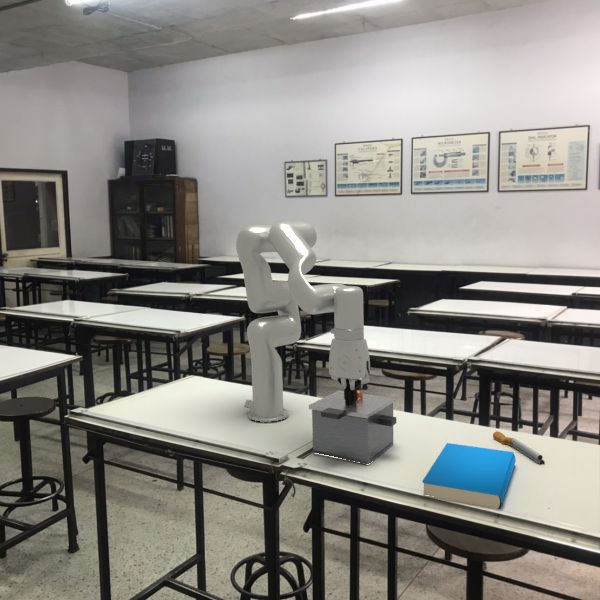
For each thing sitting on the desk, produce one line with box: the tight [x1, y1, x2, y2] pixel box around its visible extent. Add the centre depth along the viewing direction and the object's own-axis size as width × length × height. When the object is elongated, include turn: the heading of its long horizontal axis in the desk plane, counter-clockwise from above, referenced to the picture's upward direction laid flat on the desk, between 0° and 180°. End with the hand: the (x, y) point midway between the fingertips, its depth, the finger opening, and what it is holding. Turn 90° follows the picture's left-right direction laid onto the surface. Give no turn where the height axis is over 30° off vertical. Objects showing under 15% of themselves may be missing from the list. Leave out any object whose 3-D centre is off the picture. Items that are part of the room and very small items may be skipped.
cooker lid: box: [308, 389, 395, 419], centre depth 160 cm, size 17×21×3 cm
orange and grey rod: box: [492, 430, 545, 465], centre depth 160 cm, size 19×3×3 cm
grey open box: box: [311, 402, 397, 464], centre depth 162 cm, size 20×16×12 cm
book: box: [422, 442, 517, 510], centre depth 143 cm, size 17×4×25 cm
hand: (350, 403), depth 160 cm, fingers closed
